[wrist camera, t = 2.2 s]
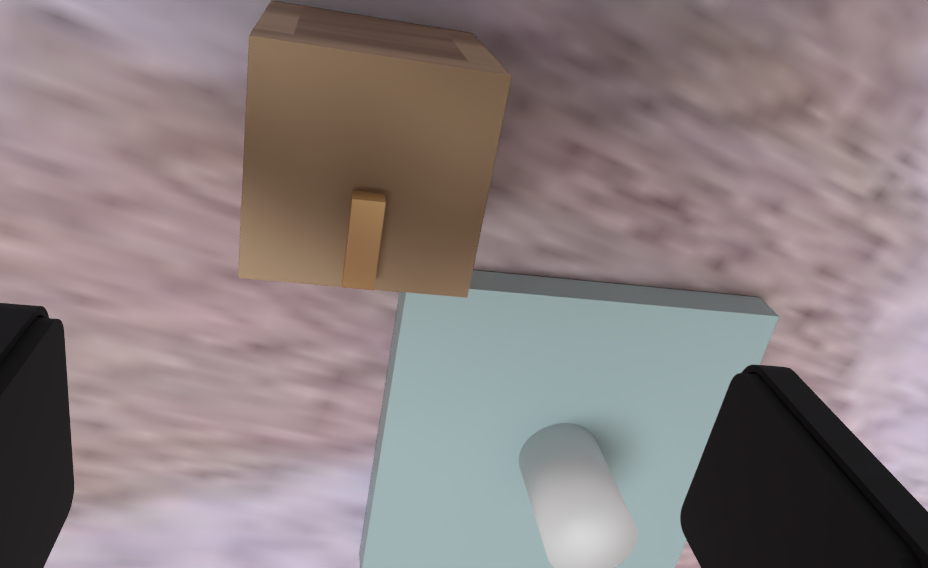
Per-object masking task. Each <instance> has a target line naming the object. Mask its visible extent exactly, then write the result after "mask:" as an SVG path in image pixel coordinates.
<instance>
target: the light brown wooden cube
mask: <svg viewBox="0 0 928 568" xmlns="http://www.w3.org/2000/svg"><path fill="white" fill-rule="evenodd" d="M511 78H512V75H511V74H510V73H509V72H508V71H507V70H506V69H505V68H504V67H503V66H502V65H501V63H500V62H499V61H498V60H497V59H496V58H495V57H494V56H493V55H492V54H491V53H490V52H489V51H488V50H487V48H486V47H485V46H484V45H483V44H482V43H481V42H480V41H479V40H478V39H477V38H476V37H475V36H474V35H473V33H467V32H461V31H455V30H448V29H442V28H436V27H430V26H424V25H418V24H412V23H406V22H399V21H393V20H387V19H381V18H375V17H369V16H363V15H357V14H350V13H344V12H338V11H332V10H326V9H320V8H314V7H307V6H301V5H295V4H289V3H283V2H277V1H271V2H270V4H269V5H268V7H267V8H266V10H265V12H264V13H263V15H262V16H261V18H260V19H259V21H258V23H257V24H256V26H255V27H254V29H253V30H252V32H251V34H250V35H249V51H248V73H247V95H246V117H245V139H244V160H243V182H242V204H241V226H240V248H239V269H238V278H246V279H257V280H269V281H280V282H292V283H303V284H315V285H326V286H338V287H344V288H355V289H367V290H384V291H395V292H407V293H418V294H430V295H441V296H453V297H464V298H467V297H468V292H469V287H470V282H471V277H472V272H473V267H474V262H475V257H476V252H477V247H478V242H479V237H480V232H481V227H482V222H483V217H484V212H485V207H486V202H487V197H488V192H489V187H490V182H491V177H492V172H493V167H494V162H495V157H496V152H497V147H498V142H499V137H500V132H501V127H502V122H503V117H504V112H505V107H506V102H507V97H508V92H509V87H510V82H511Z"/></svg>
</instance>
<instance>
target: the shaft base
mask: <svg viewBox="0 0 928 568" xmlns="http://www.w3.org/2000/svg"><path fill="white" fill-rule="evenodd" d="M778 319H779V316H778V315H777V314H776V313H775V312H774V311H773V310H772V309H771V308H770V307H769V306H768V305H767V304H766V303H765V302H764V301H763V300H762V299H761V298H760V297H750V296H740V295H729V294H719V293H708V292H698V291H687V290H677V289H666V288H656V287H645V286H635V285H624V284H613V283H603V282H592V281H582V280H571V279H561V278H550V277H540V276H529V275H519V274H508V273H498V272H487V271H476V270H473V272H472V277H471V282H470V287H469V292H468V297H467V298H464V297H453V296H441V295H430V294H418V293H407V292H400V294H399V300H398V307H397V313H396V320H395V326H394V332H393V339H392V345H391V352H390V358H389V365H388V371H387V378H386V384H385V391H384V397H383V404H382V410H381V417H380V423H379V430H378V436H377V443H376V449H375V455H374V462H373V468H372V475H371V481H370V488H369V494H368V501H367V507H366V514H365V520H364V527H363V533H362V540H361V546H360V553H359V554H360V568H675V567H676V564H677V562H678V559H679V557H680V555H681V552H682V550H683V547H684V545H685V543H686V538H685V536H684V534H683V531H682V528H681V522H680V514H681V509H682V505H683V503H684V500H685V498H686V495H687V492H688V490H689V487H690V485H691V482H692V480H693V477H694V474H695V472H696V469H697V467H698V464H699V462H700V459H701V456H702V454H703V451H704V449H705V446H706V444H707V441H708V438H709V436H710V433H711V431H712V428H713V426H714V423H715V420H716V418H717V415H718V413H719V410H720V408H721V405H722V402H723V400H724V397H725V395H726V392H727V390H728V387H729V384H730V382H731V380H732V378H733V377H734V376H735V375H736V374H738V373H742V371H743V370H744V369H745V368H746V367H747V366H749V365H759V364H760V362H761V360H762V357H763V355H764V352H765V350H766V348H767V345H768V343H769V340H770V338H771V336H772V333H773V331H774V328H775V326H776V323H777V321H778Z"/></svg>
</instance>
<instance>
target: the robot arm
mask: <svg viewBox="0 0 928 568" xmlns="http://www.w3.org/2000/svg"><path fill="white" fill-rule="evenodd" d="M73 493H74V475H73V460H72V445H71V430H70V415H69V400H68V385H67V370H66V354H65V339H64V328H63V324H62V321H61V320H60V319H50V318H49V316H48V313H47V311H46V309H45V308H44V307H43V306H31V305H18V304H6V303H0V568H43V567H44V565H45V563H46V561H47V559H48V557H49V554H50V552H51V550H52V548H53V546H54V544H55V542H56V539H57V537H58V535H59V533H60V531H61V529H62V527H63V524H64V522H65V520H66V518H67V516H68V513H69V511H70V508H71V504H72V499H73ZM680 522H681V528H682V531H683V534H684V536H685V538H686V540H687V541H688V543H689V545H690V547H691V549H692V551H693V553H694V555H695V557H696V558H697V560H698V562H699V564H700V566H701V568H928V512H927V511H926V509H925V508H924V507H923V506H922V505H921V504H920V503H919V502H918V501H917V500H916V499H915V498H914V497H913V496H912V495H911V494H910V493H909V492H908V491H907V490H906V488H905V487H904V486H903V485H902V484H901V483H900V482H899V481H898V480H897V479H896V478H895V477H894V476H893V475H892V474H891V473H890V472H889V471H888V470H887V469H886V468H885V466H884V465H883V464H882V463H881V462H880V461H879V460H878V459H877V458H876V457H875V456H874V455H873V454H872V453H871V452H870V451H869V450H868V449H867V448H866V447H865V445H864V444H863V443H862V442H861V441H860V440H859V439H858V438H857V437H856V436H855V435H854V434H853V433H852V432H851V431H850V430H849V429H848V428H847V427H846V426H845V425H844V423H843V422H842V421H841V420H840V419H839V418H838V417H837V416H836V415H835V414H834V413H833V412H832V411H831V410H830V409H829V408H828V407H827V406H826V405H825V404H824V402H823V401H822V400H821V399H820V398H819V397H818V396H817V395H816V394H815V393H814V392H813V391H812V390H811V389H810V388H809V387H808V386H807V385H806V384H805V383H804V382H803V380H802V379H801V378H800V377H799V376H798V375H797V374H796V373H795V372H794V371H793V370H791V369H790V368H786V367H777V366H765V365H749V366H747V367H746V368H745V369H744V370H743V371H742V373H738V374H736V375H735V376H734V377H733V378H732V380H731V382H730V384H729V387H728V390H727V392H726V395H725V397H724V400H723V402H722V405H721V408H720V410H719V413H718V415H717V418H716V420H715V423H714V426H713V428H712V431H711V433H710V436H709V438H708V441H707V444H706V446H705V449H704V451H703V454H702V456H701V459H700V462H699V464H698V467H697V469H696V472H695V474H694V477H693V480H692V482H691V485H690V487H689V490H688V492H687V495H686V498H685V500H684V503H683V505H682V509H681V514H680Z"/></svg>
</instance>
